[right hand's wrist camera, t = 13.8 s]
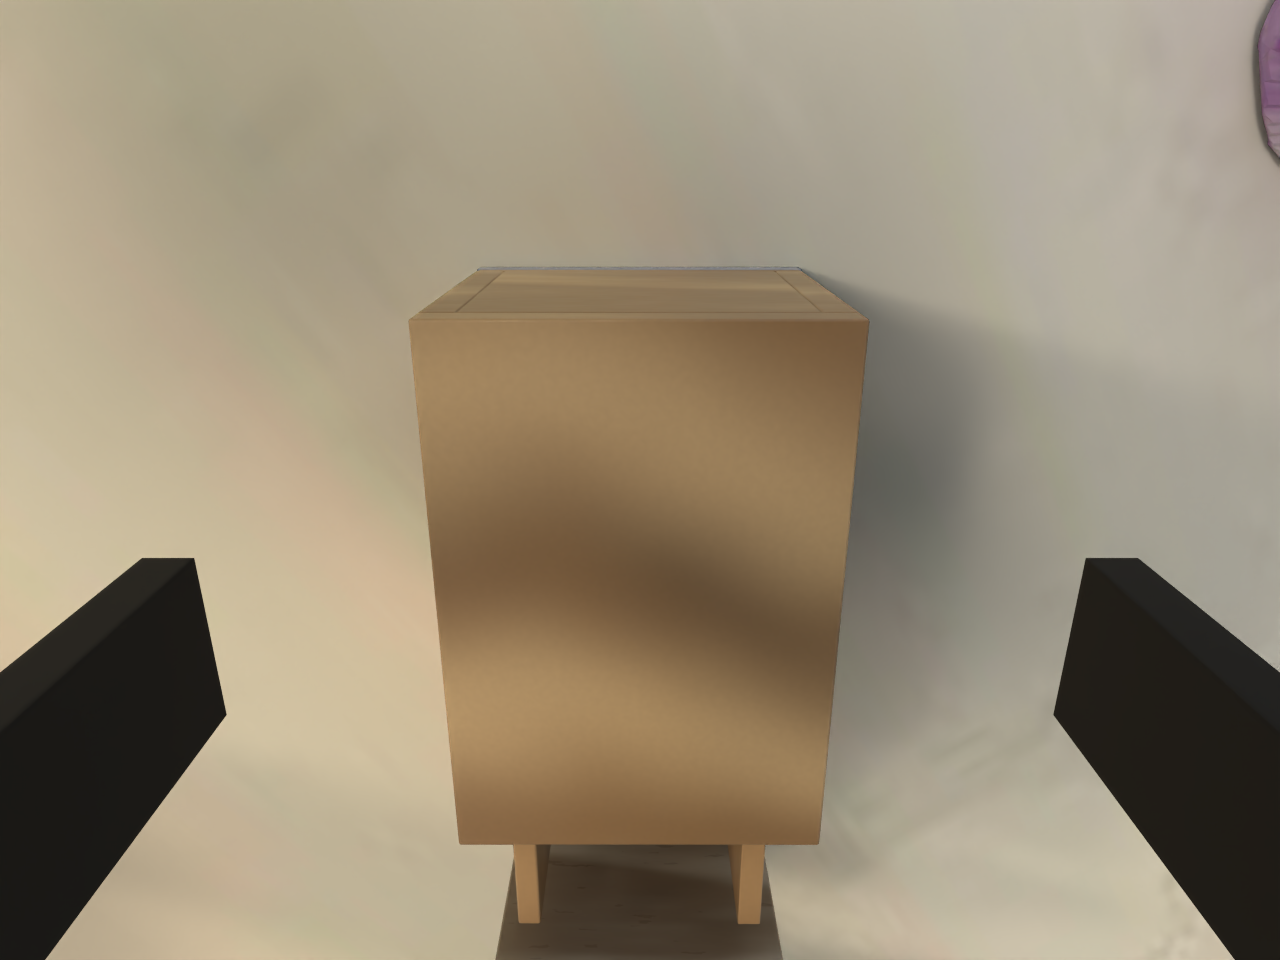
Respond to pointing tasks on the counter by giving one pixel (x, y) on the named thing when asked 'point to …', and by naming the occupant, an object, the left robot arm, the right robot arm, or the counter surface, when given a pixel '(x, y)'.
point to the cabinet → (639, 547)
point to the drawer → (639, 903)
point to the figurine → (1271, 75)
